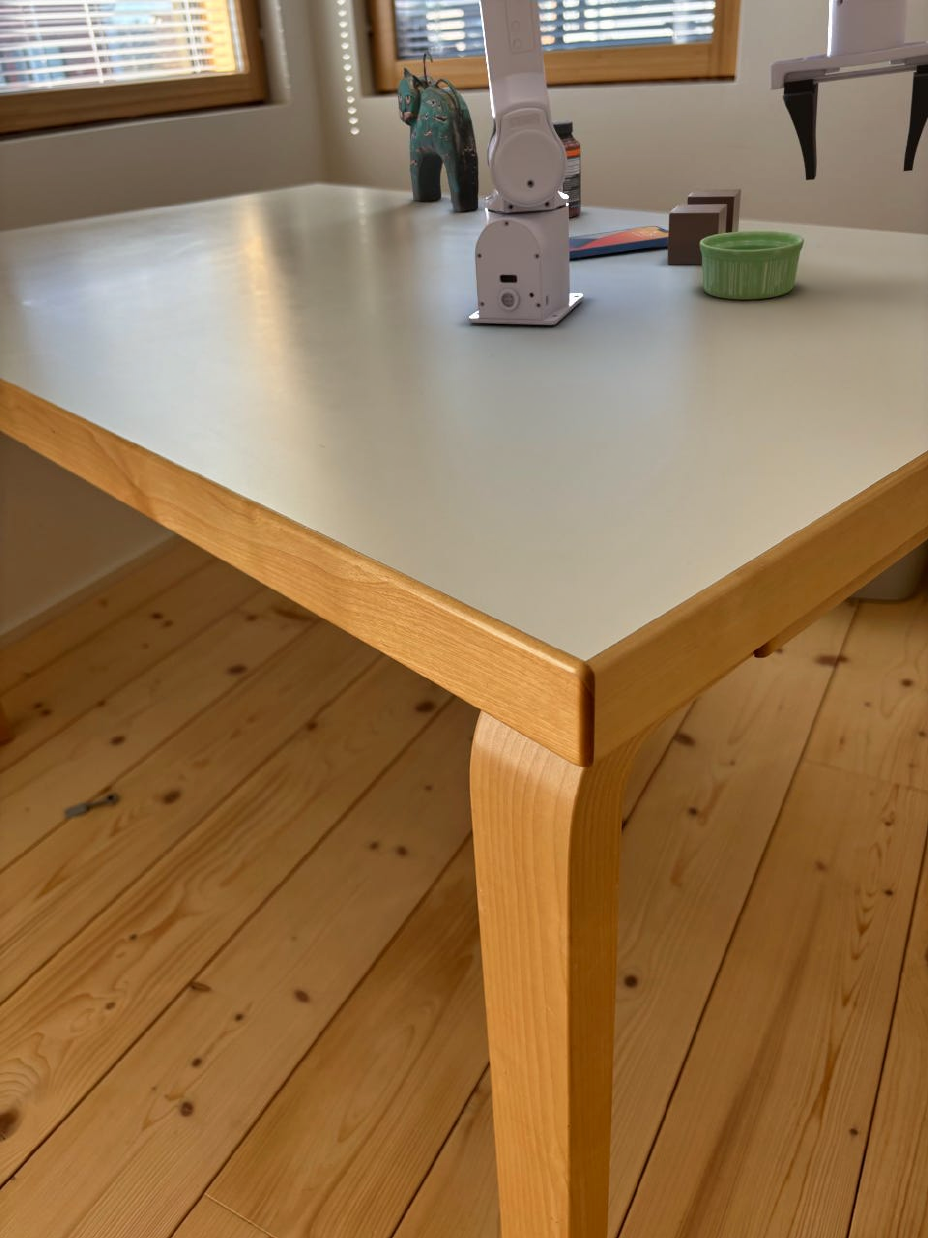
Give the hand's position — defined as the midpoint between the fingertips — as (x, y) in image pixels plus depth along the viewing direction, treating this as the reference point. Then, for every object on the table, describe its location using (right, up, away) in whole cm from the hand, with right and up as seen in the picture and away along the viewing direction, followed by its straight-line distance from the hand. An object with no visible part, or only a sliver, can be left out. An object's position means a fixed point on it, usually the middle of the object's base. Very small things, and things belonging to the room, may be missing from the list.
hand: (858, 173), depth 85 cm
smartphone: (-18, +4, +27) cm, 32 cm away
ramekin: (-8, -8, +7) cm, 13 cm away
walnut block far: (-6, +5, +27) cm, 28 cm away
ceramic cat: (-36, +24, +64) cm, 78 cm away
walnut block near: (-9, 0, +19) cm, 21 cm away
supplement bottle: (-21, +16, +49) cm, 55 cm away
